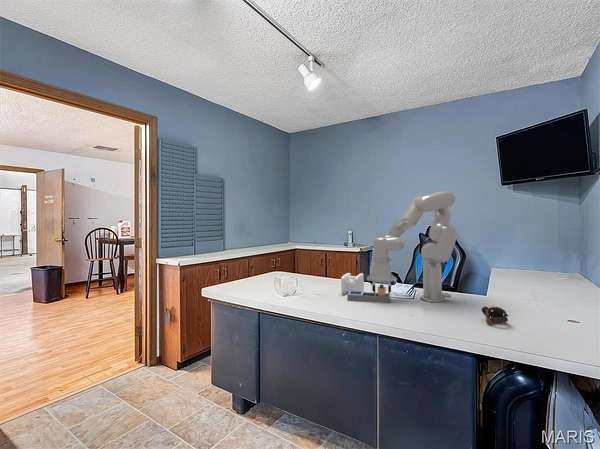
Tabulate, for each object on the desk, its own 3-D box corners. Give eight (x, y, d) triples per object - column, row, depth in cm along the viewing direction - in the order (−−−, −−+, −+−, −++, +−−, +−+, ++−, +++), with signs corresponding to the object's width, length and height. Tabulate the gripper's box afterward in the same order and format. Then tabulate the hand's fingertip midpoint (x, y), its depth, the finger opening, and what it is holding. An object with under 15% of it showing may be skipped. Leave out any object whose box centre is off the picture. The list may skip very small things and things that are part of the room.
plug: (385, 299, 172) (385, 284, 172) (385, 301, 168) (385, 286, 168) (378, 299, 173) (378, 284, 173) (377, 301, 169) (377, 285, 169)
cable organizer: (357, 297, 184) (357, 277, 184) (340, 295, 189) (340, 276, 188) (364, 291, 198) (363, 272, 197) (347, 289, 202) (347, 271, 202)
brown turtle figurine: (514, 325, 135) (513, 311, 132) (499, 337, 133) (498, 324, 129) (488, 311, 146) (487, 298, 142) (474, 322, 143) (472, 309, 140)
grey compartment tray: (389, 301, 173) (389, 292, 173) (389, 305, 165) (389, 296, 165) (349, 299, 180) (349, 290, 180) (347, 303, 172) (347, 294, 172)
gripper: (398, 259, 171) (398, 292, 171) (365, 259, 176) (366, 290, 177) (398, 261, 164) (398, 295, 164) (364, 261, 169) (364, 293, 169)
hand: (381, 292), depth 170 cm, fingers open, 7 cm apart
